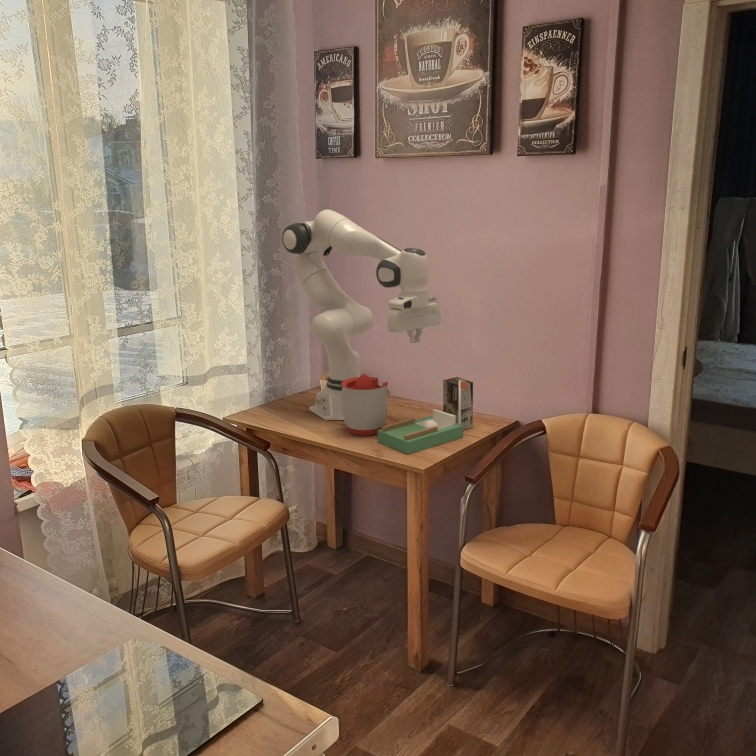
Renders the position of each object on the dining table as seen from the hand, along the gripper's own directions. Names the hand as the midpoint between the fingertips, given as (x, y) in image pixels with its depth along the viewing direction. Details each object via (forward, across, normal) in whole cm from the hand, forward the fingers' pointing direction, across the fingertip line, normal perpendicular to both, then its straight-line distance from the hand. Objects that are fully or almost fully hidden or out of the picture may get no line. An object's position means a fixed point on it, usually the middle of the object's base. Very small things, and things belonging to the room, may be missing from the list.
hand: (414, 342), depth 252 cm
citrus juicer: (+31, +10, -13) cm, 35 cm away
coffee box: (+31, -16, +4) cm, 35 cm away
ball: (+30, -1, +5) cm, 31 cm away
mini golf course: (+31, +3, +6) cm, 32 cm away
